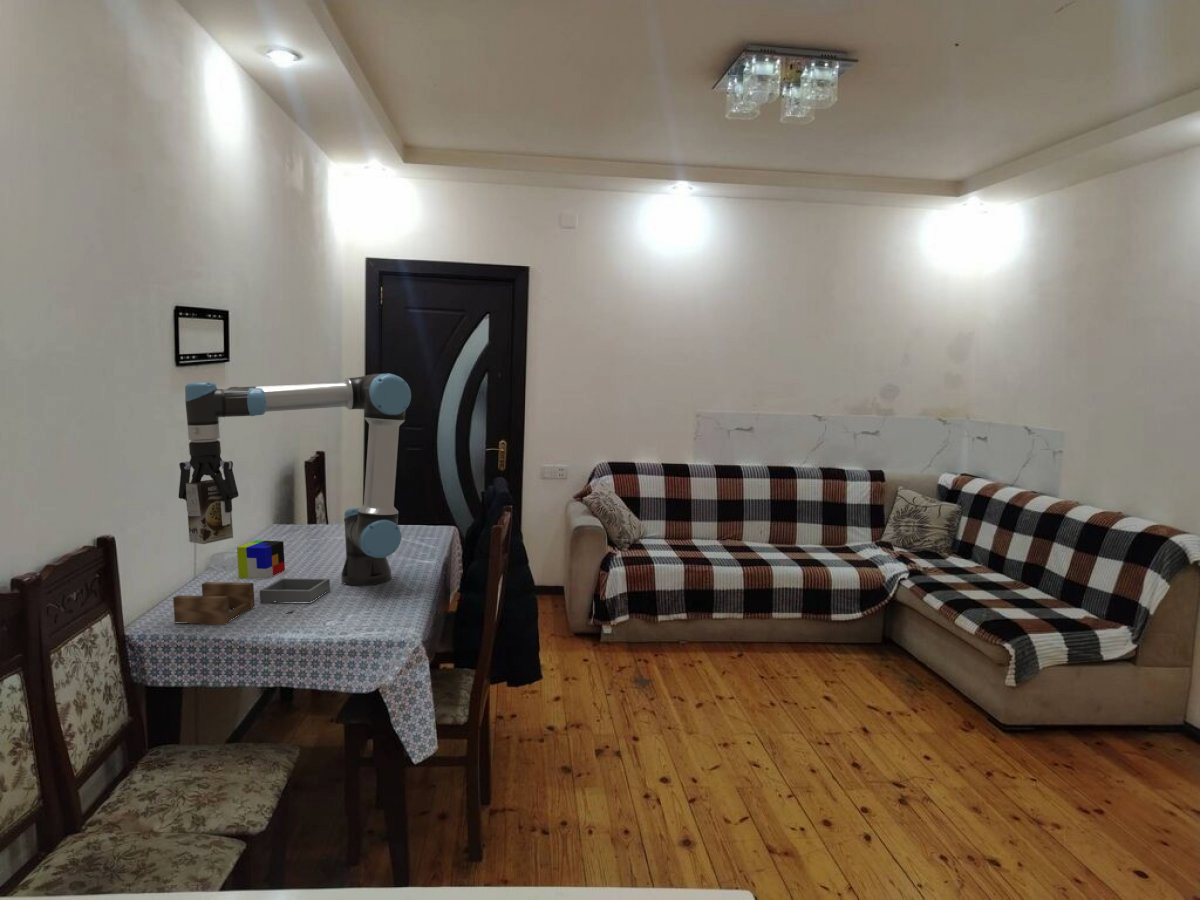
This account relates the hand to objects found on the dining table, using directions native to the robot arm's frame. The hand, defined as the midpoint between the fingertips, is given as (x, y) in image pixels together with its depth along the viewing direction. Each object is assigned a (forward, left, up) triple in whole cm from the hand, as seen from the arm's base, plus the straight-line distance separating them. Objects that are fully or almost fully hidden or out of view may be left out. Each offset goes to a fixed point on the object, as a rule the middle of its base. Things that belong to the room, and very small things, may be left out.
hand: (210, 524), depth 218 cm
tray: (-14, -18, -25) cm, 34 cm away
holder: (0, 0, -25) cm, 25 cm away
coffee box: (0, 0, -5) cm, 5 cm away
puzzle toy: (+9, -42, -25) cm, 50 cm away
